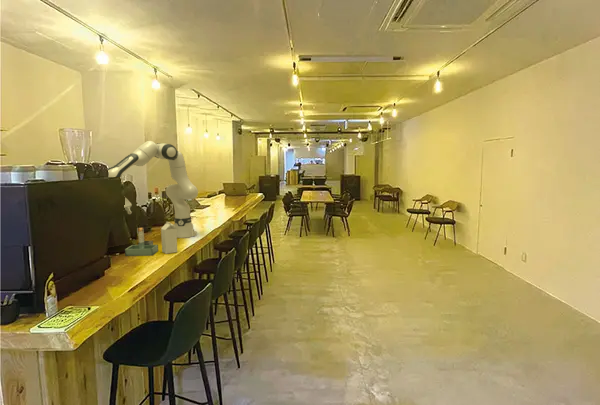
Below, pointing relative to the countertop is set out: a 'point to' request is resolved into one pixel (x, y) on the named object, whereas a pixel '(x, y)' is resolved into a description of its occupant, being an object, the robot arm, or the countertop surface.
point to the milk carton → (169, 238)
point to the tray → (141, 250)
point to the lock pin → (141, 238)
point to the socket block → (147, 243)
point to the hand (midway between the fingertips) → (125, 214)
